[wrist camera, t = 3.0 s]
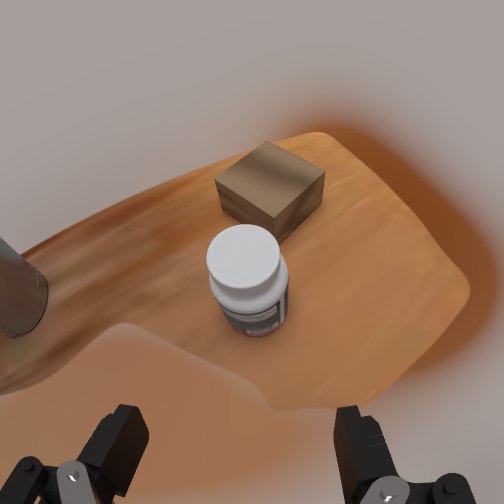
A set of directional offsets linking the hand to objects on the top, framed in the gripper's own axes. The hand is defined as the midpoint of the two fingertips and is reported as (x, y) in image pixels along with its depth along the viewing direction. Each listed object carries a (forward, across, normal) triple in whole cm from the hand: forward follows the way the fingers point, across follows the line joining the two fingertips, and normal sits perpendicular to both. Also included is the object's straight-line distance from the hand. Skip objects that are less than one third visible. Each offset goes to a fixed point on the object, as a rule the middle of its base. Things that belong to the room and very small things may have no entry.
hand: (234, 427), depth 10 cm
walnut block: (+25, -2, -6) cm, 26 cm away
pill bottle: (+17, 0, +2) cm, 17 cm away
